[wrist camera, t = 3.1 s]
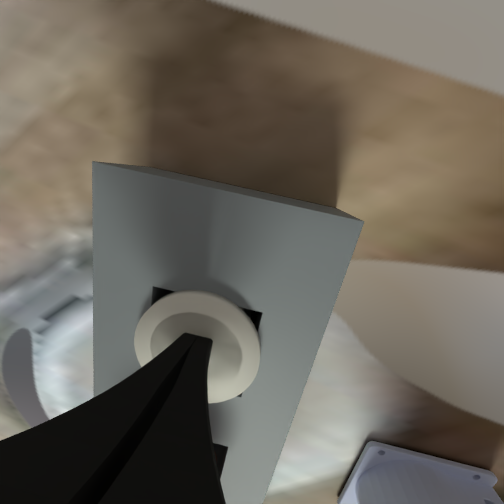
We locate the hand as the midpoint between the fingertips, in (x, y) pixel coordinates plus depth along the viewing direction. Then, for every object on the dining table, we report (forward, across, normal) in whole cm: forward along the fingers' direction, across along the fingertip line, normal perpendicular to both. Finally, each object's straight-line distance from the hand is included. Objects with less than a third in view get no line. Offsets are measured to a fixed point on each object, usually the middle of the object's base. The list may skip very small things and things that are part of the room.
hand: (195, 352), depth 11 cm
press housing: (+5, 0, +4) cm, 7 cm away
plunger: (+4, 0, 0) cm, 4 cm away
